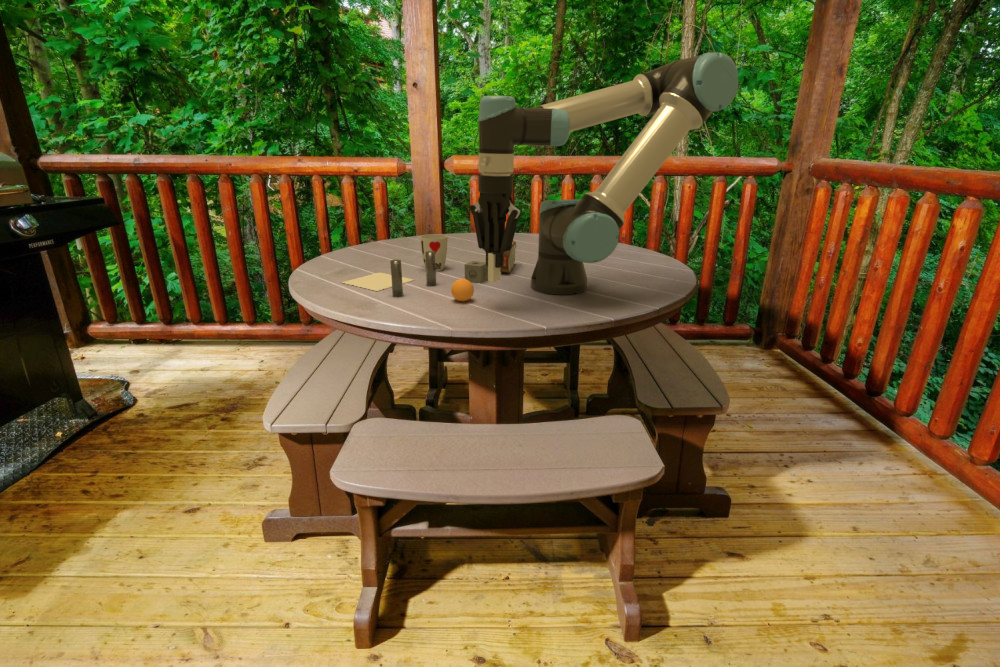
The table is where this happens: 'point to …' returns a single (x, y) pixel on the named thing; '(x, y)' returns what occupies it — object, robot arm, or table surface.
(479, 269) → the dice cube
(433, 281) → the right post
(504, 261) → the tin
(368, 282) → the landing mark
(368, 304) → the table surface
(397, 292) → the left post
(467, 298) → the ball
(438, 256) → the cup
